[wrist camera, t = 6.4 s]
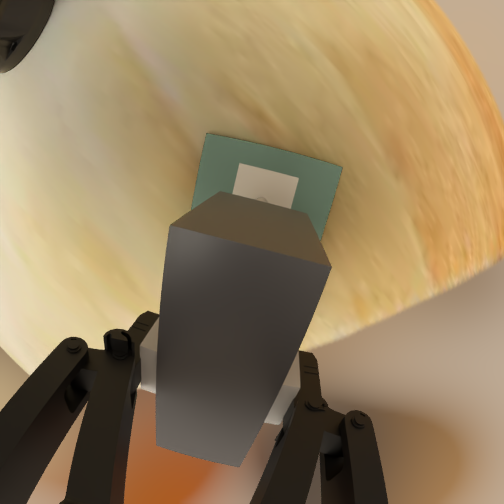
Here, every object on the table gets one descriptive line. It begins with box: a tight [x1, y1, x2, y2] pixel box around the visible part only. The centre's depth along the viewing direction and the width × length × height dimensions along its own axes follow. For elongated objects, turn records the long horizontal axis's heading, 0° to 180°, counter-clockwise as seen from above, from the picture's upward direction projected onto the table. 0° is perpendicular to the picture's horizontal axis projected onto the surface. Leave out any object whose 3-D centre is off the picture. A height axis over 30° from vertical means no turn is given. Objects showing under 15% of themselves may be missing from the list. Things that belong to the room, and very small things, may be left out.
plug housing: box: [156, 191, 332, 467], centre depth 14 cm, size 13×5×7 cm, turn 167°
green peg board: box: [191, 133, 343, 241], centre depth 24 cm, size 18×12×6 cm, turn 167°
